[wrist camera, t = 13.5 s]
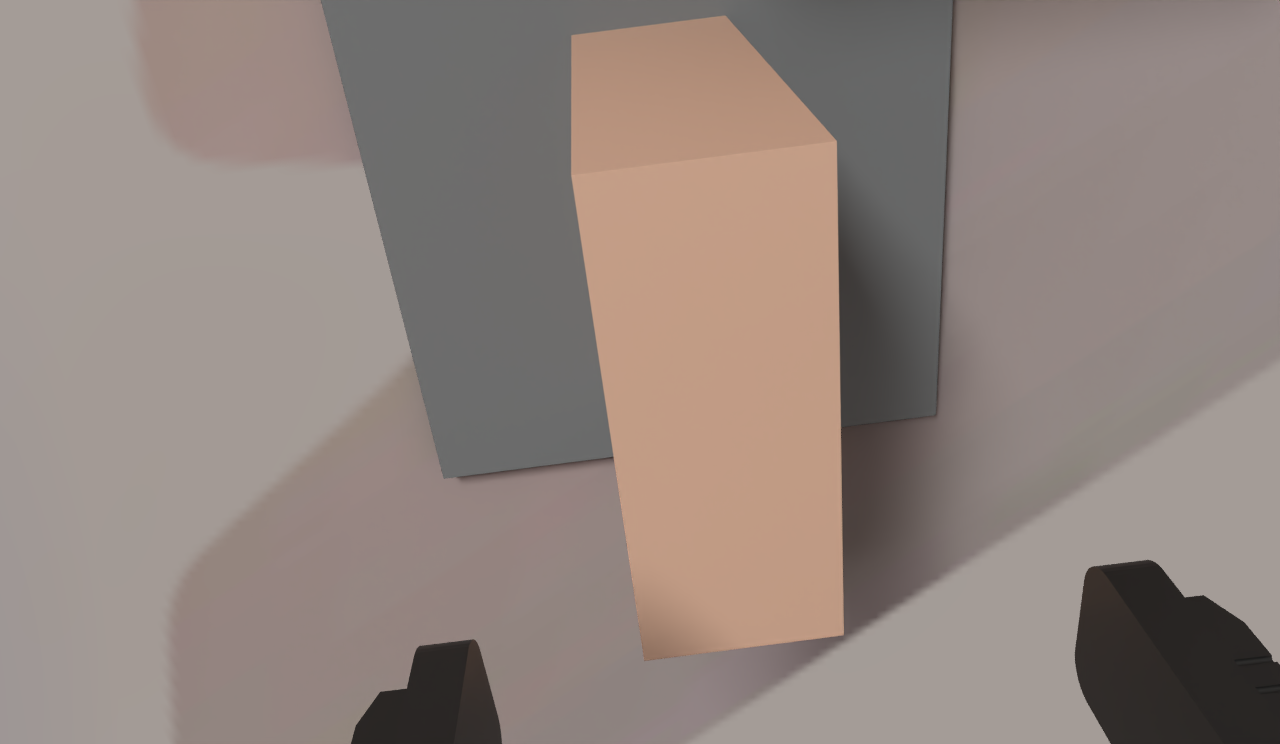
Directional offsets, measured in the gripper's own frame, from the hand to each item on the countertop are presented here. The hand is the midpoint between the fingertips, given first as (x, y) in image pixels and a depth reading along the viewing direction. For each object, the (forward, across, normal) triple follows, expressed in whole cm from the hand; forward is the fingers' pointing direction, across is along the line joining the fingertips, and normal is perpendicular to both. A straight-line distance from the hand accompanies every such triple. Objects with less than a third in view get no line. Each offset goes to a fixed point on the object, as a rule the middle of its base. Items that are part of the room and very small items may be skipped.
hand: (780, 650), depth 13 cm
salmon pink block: (+17, 0, 0) cm, 17 cm away
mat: (+17, 0, 0) cm, 17 cm away
